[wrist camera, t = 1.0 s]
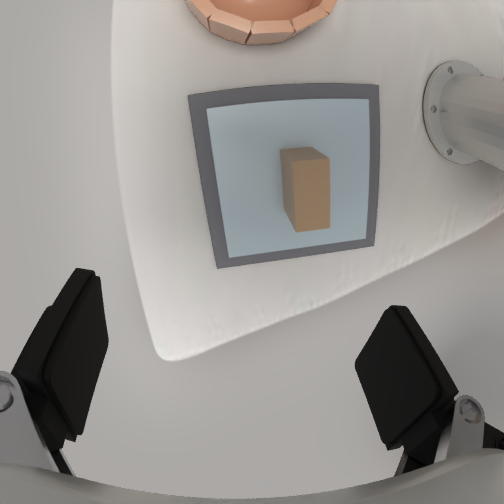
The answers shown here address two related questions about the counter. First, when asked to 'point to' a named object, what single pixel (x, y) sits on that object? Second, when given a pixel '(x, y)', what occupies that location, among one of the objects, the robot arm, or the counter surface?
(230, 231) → the sheet
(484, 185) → the counter surface
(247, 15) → the bowl
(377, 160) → the mat
